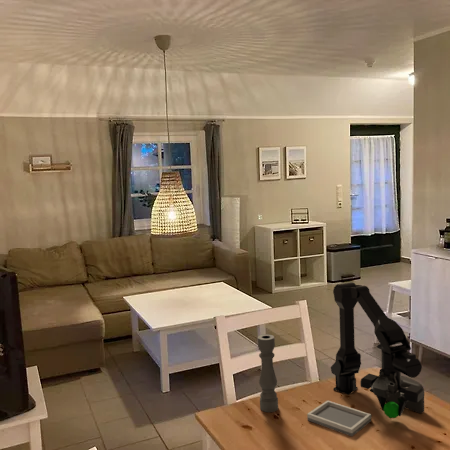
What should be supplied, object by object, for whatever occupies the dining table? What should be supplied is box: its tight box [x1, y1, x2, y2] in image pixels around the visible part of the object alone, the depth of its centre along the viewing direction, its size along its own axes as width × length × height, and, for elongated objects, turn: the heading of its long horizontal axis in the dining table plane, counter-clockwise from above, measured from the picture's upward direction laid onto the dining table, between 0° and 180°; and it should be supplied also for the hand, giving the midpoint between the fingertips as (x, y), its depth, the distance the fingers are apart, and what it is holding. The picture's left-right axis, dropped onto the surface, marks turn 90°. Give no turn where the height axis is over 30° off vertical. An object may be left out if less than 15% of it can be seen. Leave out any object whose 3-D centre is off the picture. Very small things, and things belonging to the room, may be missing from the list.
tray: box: [306, 400, 372, 437], centre depth 159 cm, size 16×12×2 cm
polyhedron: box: [383, 401, 400, 419], centre depth 157 cm, size 5×5×5 cm
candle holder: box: [257, 334, 279, 413], centre depth 169 cm, size 6×6×25 cm
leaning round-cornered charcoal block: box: [386, 375, 425, 414], centre depth 167 cm, size 16×5×9 cm, turn 39°
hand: (391, 413), depth 157 cm, fingers closed on polyhedron, 5 cm apart
